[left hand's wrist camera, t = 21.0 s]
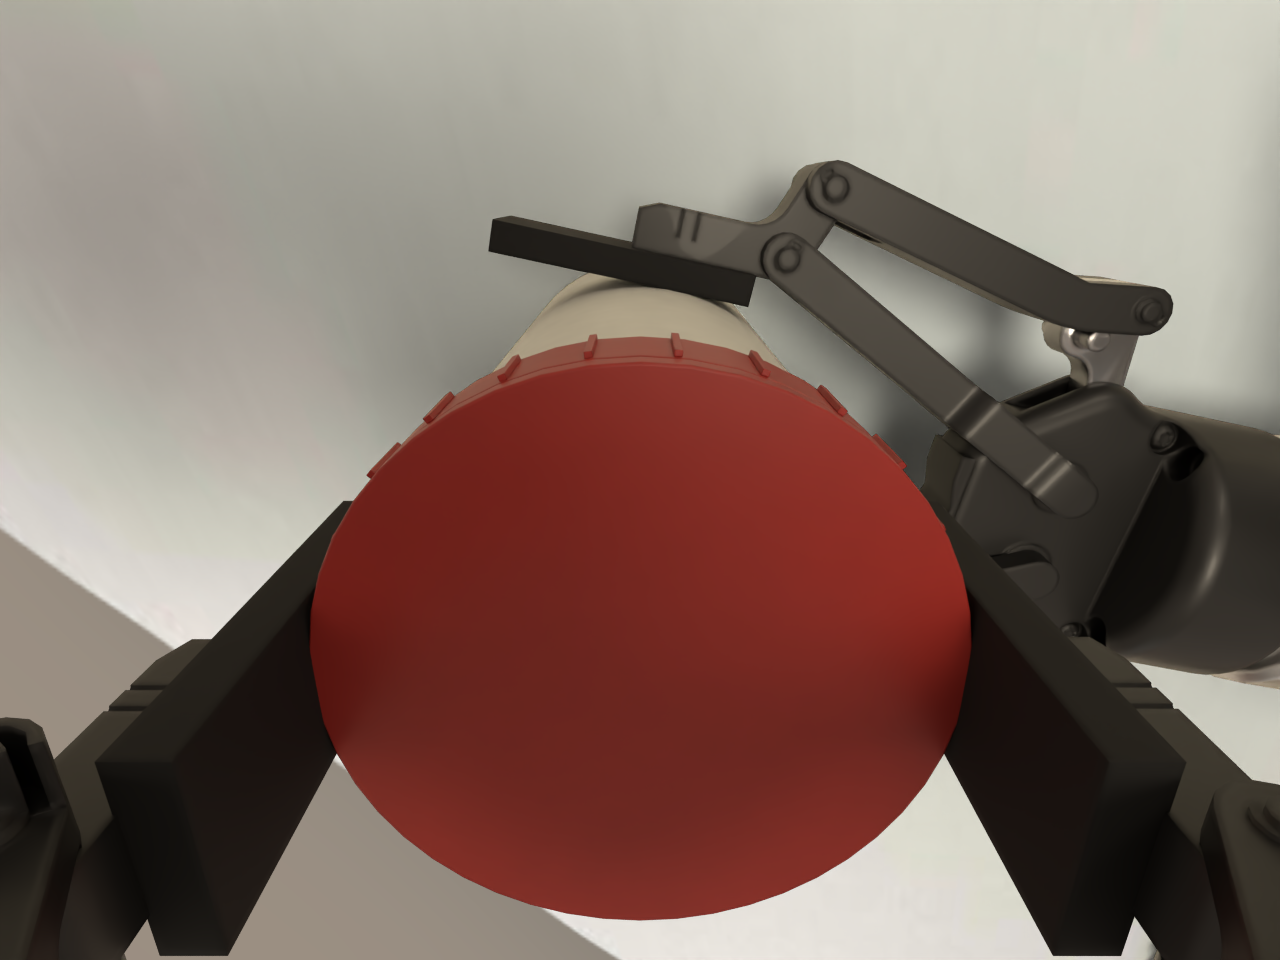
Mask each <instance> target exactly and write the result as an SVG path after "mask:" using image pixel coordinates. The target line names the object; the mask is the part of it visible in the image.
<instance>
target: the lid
mask: <svg viewBox="0 0 1280 960" xmlns="http://www.w3.org/2000/svg"><path fill="white" fill-rule="evenodd" d="M423 420H424V421H425V422H423V423H422V424H421V425H420V426H419V427H418V428H417V429H416V430H415V431H414V432H413V433H412V434H411V435H410V436H409V437H408V438H407V439H406V441H405V442H404V443H403V444H402V445H401V444H400V443H398V442H397V443H396V444H395V445H394V446H393V447H392V448H391V449H390V450H389V451H388V452H387V454H386V455H385V456H384V457H383V458H382V459H381V460H380V461H379V462H378V463H377V464H376V465H375V466H374V467H373V468H372V469H371V470H370V471H369V473H368V474H367V476H368V477H369V478H370V481H369V482H368V483H367V484H366V486H365V487H364V488H363V489H362V491H361V492H360V493H359V494H358V496H357V497H356V498H355V499H354V501H353V502H352V504H351V506H350V507H349V509H348V511H347V513H346V514H345V516H344V518H343V520H342V521H341V523H340V525H339V527H338V528H337V530H336V532H335V533H334V534H333V536H332V538H331V542H330V545H329V548H328V550H327V553H326V555H325V558H324V561H323V563H322V566H321V569H320V571H319V574H318V579H317V583H316V588H315V593H314V598H313V603H312V608H311V617H310V640H309V648H310V654H311V659H312V665H313V671H314V676H315V681H316V686H317V691H318V697H319V702H320V707H321V712H322V717H323V721H324V725H325V727H326V730H327V732H328V734H329V737H330V739H331V741H332V743H333V746H334V748H335V750H336V753H337V755H338V756H339V758H340V759H341V761H342V763H343V764H344V766H345V768H346V769H347V771H348V773H349V774H350V776H351V777H352V779H353V781H354V782H355V784H356V785H357V786H358V788H359V789H360V790H361V791H362V793H363V794H364V795H365V796H366V798H367V799H368V800H369V801H370V803H371V804H372V805H373V806H374V808H375V809H376V810H377V811H378V812H379V813H380V814H381V815H382V816H383V817H384V818H385V819H386V820H387V821H388V822H389V823H390V824H391V825H392V826H393V827H394V828H395V829H396V830H397V831H398V832H399V833H400V834H401V835H402V836H403V837H405V838H406V839H407V840H409V841H410V842H411V843H413V844H414V845H415V846H416V847H418V848H419V849H420V850H422V851H423V852H424V853H426V854H427V855H428V856H430V857H431V858H432V859H434V860H435V861H437V862H439V863H441V864H442V865H444V866H445V867H447V868H449V869H450V870H452V871H454V872H455V873H457V874H459V875H460V876H462V877H464V878H466V879H468V880H470V881H472V882H475V883H477V884H479V885H481V886H483V887H485V888H487V889H490V890H492V891H494V892H496V893H499V894H502V895H504V896H507V897H510V898H513V899H516V900H519V901H522V902H524V903H528V904H530V905H534V906H538V907H542V908H546V909H550V910H555V911H559V912H563V913H567V914H574V915H581V916H588V917H595V918H602V919H621V920H660V919H679V918H686V917H693V916H700V915H707V914H714V913H718V912H722V911H726V910H731V909H735V908H739V907H743V906H747V905H751V904H754V903H756V902H759V901H762V900H765V899H768V898H771V897H774V896H777V895H780V894H782V893H785V892H787V891H789V890H791V889H794V888H796V887H798V886H800V885H802V884H804V883H807V882H809V881H811V880H813V879H815V878H817V877H819V876H821V875H822V874H824V873H826V872H827V871H829V870H831V869H832V868H834V867H836V866H837V865H839V864H841V863H842V862H844V861H846V860H847V859H849V858H850V857H851V856H853V855H854V854H855V853H857V852H858V851H859V850H861V849H862V848H863V847H865V846H866V845H867V844H868V843H870V842H871V841H872V840H874V839H875V838H876V837H877V836H879V835H880V834H881V833H882V832H883V831H884V830H885V829H886V828H887V827H888V826H889V825H890V824H891V823H892V822H893V821H894V820H895V819H896V818H897V817H898V816H899V815H900V814H901V813H902V812H903V811H904V810H905V809H906V808H907V806H908V805H909V804H910V803H911V801H912V800H913V799H914V798H915V796H916V795H917V794H918V793H919V792H920V790H921V789H922V788H923V787H924V785H925V784H926V782H927V781H928V779H929V777H930V776H931V774H932V773H933V771H934V769H935V768H936V766H937V764H938V763H939V761H940V760H941V758H942V756H943V755H944V753H945V750H946V748H947V746H948V743H949V741H950V739H951V737H952V734H953V732H954V730H955V727H956V725H957V721H958V716H959V712H960V707H961V702H962V697H963V691H964V686H965V681H966V676H967V671H968V665H969V659H970V654H971V647H972V641H971V617H970V608H969V603H968V598H967V593H966V588H965V583H964V579H963V574H962V571H961V569H960V566H959V563H958V561H957V558H956V556H955V553H954V550H953V548H952V545H951V542H950V540H949V537H948V535H947V534H946V532H945V531H946V529H945V526H944V524H943V523H942V522H941V521H940V520H939V519H938V518H937V516H936V514H935V513H934V511H933V509H932V507H931V506H930V504H929V502H928V501H927V500H926V498H925V497H924V496H923V495H922V493H921V492H920V491H919V490H918V488H917V487H916V486H915V485H914V483H913V482H912V481H911V479H910V478H909V477H908V476H907V474H906V473H905V472H904V471H903V469H904V468H905V467H907V465H906V464H905V463H904V462H903V460H902V459H901V458H900V457H899V456H898V455H897V454H896V453H895V452H894V451H893V450H892V449H891V448H890V447H889V446H888V445H887V444H886V443H885V442H884V441H883V440H882V439H881V438H880V437H879V436H878V435H877V434H875V435H874V436H871V435H870V434H869V433H868V432H867V431H866V430H865V429H864V428H863V427H862V426H861V425H860V424H859V423H857V422H856V421H855V420H854V419H853V418H852V417H851V416H850V415H849V414H848V413H847V410H846V409H845V408H844V407H843V406H842V405H841V403H840V402H839V401H838V400H837V399H836V398H835V397H834V396H833V395H832V394H831V393H830V392H829V391H828V390H827V389H826V388H825V387H824V386H822V385H820V386H819V387H818V389H816V388H814V387H813V386H811V385H810V384H808V383H807V382H805V381H804V380H802V379H800V378H798V377H796V376H794V375H792V374H790V373H788V372H786V371H784V370H782V369H780V368H778V367H776V366H774V365H772V364H770V363H768V362H766V361H764V360H763V359H762V358H761V357H760V355H759V354H758V352H756V351H753V350H750V352H749V355H746V354H743V353H740V352H737V351H735V350H732V349H729V348H725V347H720V346H715V345H710V344H705V343H700V342H695V341H690V340H686V339H680V336H679V333H671V338H658V337H643V336H638V337H623V338H607V339H598V337H597V334H593V335H589V338H588V341H586V342H581V343H575V344H570V345H565V346H560V347H555V348H552V349H549V350H546V351H544V352H541V353H538V354H535V355H532V356H529V357H526V358H523V359H521V358H520V356H519V354H517V355H515V356H512V357H511V359H510V360H509V361H508V363H507V364H506V365H505V367H503V368H501V369H499V370H497V371H495V372H493V373H491V374H489V375H487V376H485V377H483V378H481V379H479V380H477V381H476V382H474V383H473V384H471V385H470V386H468V387H467V388H465V389H464V390H463V391H461V392H460V393H458V394H457V395H455V396H454V395H453V394H452V393H451V392H449V393H448V394H446V395H445V396H444V397H443V398H442V399H441V400H440V401H439V402H438V403H437V404H436V405H435V407H434V408H433V409H432V410H431V411H430V412H429V413H428V414H427V415H426V416H425V417H424V418H423Z"/></svg>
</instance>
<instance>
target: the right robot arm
mask: <svg viewBox="0 0 1280 960" xmlns="http://www.w3.org/2000/svg"><path fill="white" fill-rule="evenodd" d="M834 225H835V226H837V227H839V228H841V229H843V230H845V231H847V232H849V233H851V234H853V235H855V236H857V237H860V238H862V239H864V240H866V241H868V242H870V243H872V244H874V245H876V246H878V247H880V248H882V249H884V250H887V251H889V252H891V253H893V254H895V255H897V256H899V257H901V258H903V259H905V260H907V261H909V262H911V263H914V264H916V265H918V266H920V267H922V268H924V269H926V270H928V271H930V272H932V273H934V274H936V275H938V276H941V277H943V278H945V279H947V280H949V281H951V282H953V283H955V284H957V285H959V286H961V287H963V288H965V289H968V290H970V291H972V292H974V293H976V294H978V295H980V296H982V297H984V298H986V299H988V300H990V301H992V302H995V303H997V304H999V305H1001V306H1003V307H1006V308H1008V309H1011V310H1013V311H1016V312H1018V313H1022V314H1025V315H1028V316H1031V317H1034V318H1037V319H1040V320H1043V321H1044V322H1043V323H1042V331H1043V336H1044V341H1045V342H1046V344H1047V346H1049V347H1050V348H1051V349H1053V350H1056V351H1058V352H1061V353H1063V354H1064V355H1066V356H1067V357H1068V359H1069V361H1070V364H1071V373H1070V375H1067V376H1064V377H1061V378H1059V379H1056V380H1054V381H1051V382H1049V383H1046V384H1044V385H1042V386H1039V387H1037V388H1034V389H1032V390H1029V391H1027V392H1024V393H1022V394H1019V395H1017V396H1014V397H1012V398H1009V399H1007V400H1004V401H1002V402H997V401H996V400H995V399H994V398H992V397H991V396H990V395H988V394H987V393H985V392H984V391H983V390H981V389H980V388H979V387H978V386H976V385H975V384H974V383H973V382H972V381H970V380H969V379H968V378H967V377H966V376H965V375H963V374H962V373H961V372H960V371H959V370H958V369H956V368H955V367H954V366H953V365H952V364H951V363H949V362H948V361H947V360H946V359H945V358H943V357H942V356H941V355H940V354H939V353H938V352H936V351H935V350H934V349H933V348H932V347H931V346H929V345H928V344H927V343H926V342H925V341H924V340H922V339H921V338H920V337H919V336H918V335H916V334H915V333H914V332H913V331H912V330H911V329H909V328H908V327H907V326H906V325H905V324H904V323H902V322H901V321H900V320H899V319H898V318H897V317H895V316H894V315H893V314H892V313H891V312H890V311H888V310H887V309H886V308H885V307H884V306H882V305H881V304H880V303H879V302H878V301H877V300H875V299H874V298H873V297H872V296H871V295H870V294H868V293H867V292H866V291H865V290H864V289H863V288H861V287H860V286H859V285H858V284H857V283H856V282H854V281H853V280H852V279H851V278H850V277H848V276H847V275H846V274H845V273H844V272H843V271H841V270H840V269H839V268H838V267H837V266H836V265H834V264H833V263H832V262H831V261H830V260H829V259H827V258H826V257H825V256H824V255H823V254H821V253H820V252H819V251H818V250H817V249H818V248H819V246H820V245H821V243H822V242H823V240H824V239H825V237H826V236H827V234H828V233H829V232H830V230H831V229H832V227H833V226H834ZM489 252H494V253H499V254H503V255H508V256H513V257H517V258H522V259H526V260H531V261H536V262H540V263H545V264H550V265H554V266H559V267H564V268H568V269H573V270H578V271H582V272H587V273H592V274H596V275H601V276H606V277H610V278H615V279H620V280H624V281H629V282H634V283H638V284H643V285H648V286H652V287H657V288H662V289H666V290H671V291H676V292H680V293H685V294H690V295H694V296H699V297H704V298H708V299H713V300H718V301H722V302H727V303H732V304H736V305H741V306H746V307H748V306H749V302H750V298H751V294H752V290H753V286H754V282H755V278H756V277H761V278H765V279H769V280H771V281H772V282H773V283H774V284H775V285H777V286H778V287H779V288H780V289H781V290H783V291H784V292H785V293H786V294H788V295H789V296H790V297H791V298H792V299H794V300H795V301H796V302H797V303H798V304H800V305H801V306H802V307H803V308H804V309H806V310H807V311H808V312H809V313H811V314H812V315H813V316H814V317H815V318H817V319H818V320H819V321H820V322H821V323H823V324H824V325H825V326H826V327H828V328H829V329H830V330H831V331H832V332H834V333H835V334H836V335H837V336H838V337H840V338H841V339H842V340H843V341H845V342H846V343H847V344H848V345H849V346H851V347H852V348H853V349H854V350H855V351H857V352H858V353H859V354H860V355H861V356H863V357H864V358H865V359H866V360H868V361H869V362H870V363H871V364H872V365H874V366H875V367H876V368H877V369H878V370H880V371H881V372H882V373H883V374H885V375H886V376H887V377H888V378H889V379H891V380H892V381H893V382H894V383H895V384H897V385H898V386H899V387H900V388H901V389H903V390H904V391H905V392H906V393H908V394H909V395H910V396H911V397H912V398H914V399H915V400H916V401H917V402H918V403H919V404H920V405H922V406H923V407H924V408H925V409H926V410H928V411H929V412H930V413H931V414H933V415H934V416H935V417H936V418H937V419H939V420H940V421H941V422H942V423H943V424H945V425H946V426H947V427H948V428H949V429H948V431H947V432H946V433H945V434H944V436H942V435H937V434H936V435H935V438H934V440H933V443H932V446H931V449H930V451H929V454H928V457H927V465H926V476H925V483H924V485H923V486H922V488H921V489H920V492H921V493H922V495H923V496H924V497H925V498H926V500H927V501H938V502H939V503H940V504H941V505H942V506H943V508H944V509H945V510H946V511H947V512H948V513H949V514H950V515H951V516H952V517H953V518H954V519H955V520H956V521H957V522H958V523H959V524H960V525H961V526H962V527H963V528H964V529H965V531H966V532H967V533H968V534H969V535H970V536H971V537H972V538H973V539H974V540H975V541H976V542H977V543H978V544H979V545H980V546H981V547H982V548H983V549H984V550H985V551H986V553H987V554H988V555H989V556H990V557H991V558H992V559H993V560H994V561H995V562H996V563H997V564H998V565H999V566H1000V567H1001V568H1002V569H1003V570H1004V571H1005V572H1006V573H1007V575H1008V576H1009V577H1010V578H1011V579H1012V580H1013V581H1014V582H1015V583H1016V584H1017V585H1018V586H1019V587H1020V588H1021V589H1022V590H1023V591H1024V592H1025V593H1026V594H1027V595H1028V596H1029V598H1030V599H1031V600H1032V601H1033V602H1034V603H1035V604H1036V605H1037V606H1038V607H1039V608H1040V609H1041V610H1042V611H1043V612H1044V613H1045V614H1046V615H1047V616H1048V617H1049V618H1050V620H1051V621H1052V622H1053V623H1054V624H1055V625H1056V626H1057V627H1058V628H1059V629H1060V630H1061V631H1062V632H1063V633H1064V634H1065V635H1066V636H1067V637H1090V638H1092V639H1094V640H1095V641H1097V642H1099V643H1101V644H1102V645H1104V646H1106V647H1107V648H1109V649H1111V650H1113V651H1114V652H1116V653H1118V654H1119V655H1121V656H1123V657H1125V658H1126V659H1127V660H1128V661H1129V662H1135V663H1140V664H1145V665H1151V666H1156V667H1162V668H1167V669H1173V670H1178V671H1183V672H1189V673H1195V674H1204V675H1209V674H1210V675H1212V676H1214V677H1218V678H1223V679H1227V680H1232V681H1236V682H1241V683H1245V684H1251V685H1257V686H1263V687H1269V688H1275V689H1280V435H1272V434H1270V433H1268V432H1265V431H1262V430H1258V429H1255V428H1251V427H1246V426H1242V425H1237V424H1232V423H1227V422H1223V421H1218V420H1213V419H1209V418H1204V417H1199V416H1194V415H1190V414H1185V413H1180V412H1175V411H1171V410H1166V409H1161V408H1157V407H1152V406H1147V405H1143V404H1142V403H1141V402H1140V401H1139V400H1138V399H1137V398H1136V397H1135V395H1134V394H1133V393H1132V392H1131V391H1129V390H1128V389H1126V388H1125V387H1123V385H1124V382H1125V379H1126V376H1127V372H1128V369H1129V366H1130V363H1131V359H1132V356H1133V353H1134V350H1135V346H1136V343H1137V340H1138V337H1139V336H1142V335H1150V334H1152V333H1154V332H1156V331H1158V330H1160V329H1161V328H1162V327H1163V326H1164V325H1165V324H1166V323H1167V322H1168V320H1169V318H1170V316H1171V314H1172V310H1173V302H1172V298H1171V295H1170V294H1168V293H1167V292H1166V291H1165V290H1164V289H1160V288H1157V287H1152V286H1147V285H1141V284H1136V283H1131V282H1125V281H1120V280H1115V279H1109V278H1104V277H1096V276H1080V275H1073V274H1071V273H1069V272H1067V271H1065V270H1063V269H1061V268H1059V267H1057V266H1055V265H1053V264H1051V263H1049V262H1047V261H1045V260H1043V259H1041V258H1039V257H1037V256H1035V255H1033V254H1031V253H1029V252H1027V251H1025V250H1023V249H1021V248H1019V247H1017V246H1015V245H1013V244H1011V243H1009V242H1007V241H1005V240H1003V239H1001V238H999V237H996V236H994V235H992V234H990V233H988V232H986V231H984V230H982V229H980V228H978V227H976V226H974V225H972V224H970V223H968V222H966V221H964V220H962V219H960V218H958V217H956V216H954V215H952V214H950V213H948V212H946V211H944V210H942V209H940V208H938V207H936V206H934V205H932V204H930V203H928V202H926V201H924V200H922V199H920V198H918V197H916V196H914V195H912V194H910V193H908V192H906V191H904V190H902V189H900V188H898V187H896V186H894V185H892V184H890V183H888V182H886V181H884V180H882V179H880V178H878V177H876V176H874V175H872V174H870V173H868V172H866V171H864V170H862V169H860V168H858V167H856V166H854V165H852V164H850V163H848V162H844V161H839V160H836V161H827V162H821V163H815V164H811V165H806V166H805V167H803V168H802V169H800V170H799V171H798V172H797V174H796V175H795V176H794V178H793V181H792V184H791V187H790V189H789V191H788V192H787V194H786V195H785V197H784V198H783V200H782V201H781V203H780V205H779V206H778V208H777V209H776V210H775V211H774V212H773V214H771V215H770V216H769V217H767V218H766V219H763V220H761V221H758V222H744V221H739V220H735V219H730V218H726V217H721V216H717V215H712V214H708V213H703V212H699V211H694V210H690V209H686V208H681V207H677V206H672V205H668V204H663V203H655V204H650V205H644V206H639V210H638V215H637V220H636V226H635V231H634V236H633V241H632V242H629V241H625V240H620V239H615V238H611V237H606V236H602V235H597V234H593V233H588V232H583V231H579V230H574V229H570V228H565V227H560V226H556V225H551V224H547V223H542V222H538V221H533V220H528V219H524V218H519V217H515V216H507V217H502V218H496V219H493V220H492V228H491V235H490V243H489Z"/></svg>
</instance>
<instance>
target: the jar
mask: <svg viewBox="0 0 1280 960" xmlns="http://www.w3.org/2000/svg"><path fill="white" fill-rule="evenodd" d="M671 333H679V336H680V339H686V340H690V341H695V342H700V343H705V344H710V345H715V346H720V347H725V348H729V349H732V350H735V351H737V352H740V353H743V354H746V355H749V352H750V350H753V351H756V352H758V354H759V355H760V357H761V358H762V359H763V360H764V361H766V362H768V363H770V364H772V365H774V366H776V367H778V368H780V369H782V370H784V371H786V372H788V371H787V370H786V369H785V368H784V366H783V365H782V364H781V363H780V362H779V360H778V359H777V358H776V357H775V355H774V354H773V353H772V352H771V351H770V349H769V348H768V347H767V346H766V344H765V343H764V342H763V341H762V339H761V338H760V337H759V336H758V335H757V333H756V332H755V331H754V330H753V328H752V327H751V326H750V325H749V324H748V322H747V321H746V320H745V319H744V317H743V316H742V315H741V314H740V313H739V311H738V310H737V309H736V308H735V306H734V305H733V304H732V303H727V302H722V301H718V300H713V299H708V298H704V297H699V296H694V295H690V294H685V293H680V292H676V291H671V290H666V289H662V288H657V287H652V286H648V285H643V284H638V283H634V282H629V281H624V280H620V279H615V278H610V277H606V276H601V275H596V274H592V273H588V274H586V275H584V276H581V277H580V278H578V279H577V280H575V281H574V282H572V283H571V284H569V285H568V286H566V287H565V288H564V289H563V290H562V291H560V292H559V293H558V294H557V295H556V296H555V297H554V298H553V299H552V300H551V301H550V302H549V304H548V305H547V306H546V307H545V308H544V309H543V311H542V312H541V313H540V314H539V316H538V317H537V318H536V319H535V320H534V322H533V323H532V324H531V325H530V327H529V328H528V329H527V330H526V332H525V333H524V334H523V335H522V336H521V338H520V339H519V340H518V341H517V343H516V344H515V345H514V346H513V348H512V349H511V350H510V351H509V352H508V354H507V355H506V356H505V357H504V359H503V360H502V361H501V362H500V364H499V365H498V366H497V367H496V368H495V370H494V371H493V372H495V371H497V370H499V369H501V368H503V367H505V365H506V364H507V363H508V361H509V360H510V359H511V357H512V356H515V355H517V354H519V356H520V358H521V359H523V358H526V357H529V356H532V355H535V354H538V353H541V352H544V351H546V350H549V349H552V348H555V347H560V346H565V345H570V344H575V343H581V342H586V341H588V338H589V335H593V334H597V337H598V339H607V338H623V337H638V336H643V337H658V338H671ZM493 372H492V373H493Z"/></svg>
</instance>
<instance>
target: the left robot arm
mask: <svg viewBox="0 0 1280 960" xmlns="http://www.w3.org/2000/svg"><path fill="white" fill-rule="evenodd" d="M352 502H353V501H343V502H342V503H341V504H340V505H339V506H338V507H337V508H336V509H335V510H334V512H333V513H332V514H331V515H330V516H329V517H328V518H327V519H326V520H325V521H324V522H323V523H322V524H321V525H320V526H319V527H318V528H317V529H316V530H315V531H314V532H313V534H312V535H311V536H310V537H309V538H308V539H307V540H306V541H305V542H304V543H303V544H302V545H301V546H300V547H299V548H298V549H297V550H296V551H295V552H294V553H293V554H292V556H291V557H290V558H289V559H288V560H287V561H286V562H285V563H284V564H283V565H282V566H281V567H280V568H279V569H278V570H277V571H276V572H275V573H274V574H273V575H272V576H271V578H270V579H269V580H268V581H267V582H266V583H265V584H264V585H263V586H262V587H261V588H260V589H259V590H258V591H257V592H256V593H255V594H254V595H253V596H252V597H251V598H250V600H249V601H248V602H247V603H246V604H245V605H244V606H243V607H242V608H241V609H240V610H239V611H238V612H237V613H236V614H235V615H234V616H233V617H232V618H231V619H230V620H229V621H228V623H227V624H226V625H225V626H224V627H223V628H222V629H221V630H220V631H219V632H218V633H217V634H216V635H215V636H214V637H213V638H212V639H192V640H190V641H188V642H187V643H185V644H183V645H182V646H180V647H178V648H177V649H175V650H173V651H171V652H170V653H168V654H166V655H165V656H163V657H161V658H159V659H158V660H156V661H155V662H154V663H153V664H152V665H151V666H150V667H149V668H148V669H147V670H146V671H145V672H144V673H143V674H142V675H141V676H140V677H139V678H138V679H137V680H135V681H134V682H133V683H132V684H131V688H130V690H125V691H124V692H123V693H122V694H121V695H120V696H119V697H118V698H117V699H116V700H115V701H114V702H113V703H112V704H111V705H110V706H109V711H104V712H103V713H102V714H100V715H99V716H98V717H97V718H96V719H95V720H94V721H93V722H92V723H91V724H90V725H89V726H88V727H87V728H86V729H85V730H84V731H83V732H82V733H81V734H80V735H79V736H78V737H77V738H76V739H75V740H74V741H73V742H72V743H71V744H70V745H69V746H68V747H67V748H65V749H64V750H63V751H62V752H61V753H60V754H59V755H58V756H57V757H56V758H55V759H53V756H52V753H51V751H50V748H49V745H48V742H47V740H46V737H45V734H44V731H43V728H42V727H41V726H39V725H37V724H36V723H34V722H33V721H31V720H30V719H19V718H8V717H6V718H0V960H126V957H125V954H124V953H125V951H126V950H127V948H128V947H129V945H130V944H131V942H132V941H133V939H134V938H135V936H136V935H137V933H138V932H139V930H140V929H141V927H142V926H143V925H144V923H145V922H146V920H147V919H148V922H149V925H150V928H151V931H152V934H153V937H154V940H155V943H156V946H157V949H158V952H159V955H160V956H228V954H229V953H230V951H231V949H232V947H233V945H234V943H235V941H236V940H237V938H238V936H239V934H240V932H241V930H242V928H243V927H244V925H245V923H246V921H247V919H248V917H249V915H250V914H251V912H252V910H253V908H254V906H255V904H256V902H257V901H258V899H259V897H260V895H261V893H262V891H263V889H264V888H265V886H266V884H267V882H268V880H269V878H270V876H271V875H272V873H273V871H274V869H275V867H276V865H277V863H278V862H279V860H280V858H281V856H282V854H283V852H284V850H285V849H286V847H287V845H288V843H289V841H290V839H291V837H292V836H293V834H294V832H295V830H296V828H297V826H298V824H299V823H300V821H301V819H302V817H303V815H304V813H305V811H306V810H307V808H308V806H309V804H310V802H311V800H312V798H313V797H314V795H315V793H316V791H317V789H318V787H319V785H320V784H321V782H322V780H323V778H324V776H325V774H326V772H327V770H328V769H329V767H330V765H331V763H332V761H333V759H334V758H335V756H336V754H337V753H336V750H335V748H334V746H333V743H332V741H331V739H330V737H329V734H328V732H327V730H326V727H325V725H324V721H323V717H322V712H321V707H320V702H319V697H318V691H317V686H316V681H315V676H314V671H313V665H312V659H311V654H310V648H309V640H310V617H311V608H312V603H313V598H314V593H315V588H316V583H317V579H318V574H319V571H320V569H321V566H322V563H323V561H324V558H325V555H326V553H327V550H328V548H329V545H330V542H331V538H332V536H333V534H334V533H335V532H336V530H337V528H338V527H339V525H340V523H341V521H342V520H343V518H344V516H345V514H346V513H347V511H348V509H349V507H350V506H351V504H352ZM928 502H929V504H930V506H931V507H932V509H933V511H934V513H935V514H936V516H937V518H938V519H939V520H940V521H941V522H942V523H943V524H944V526H945V529H946V531H945V532H946V534H947V535H948V537H949V540H950V542H951V545H952V548H953V550H954V553H955V556H956V558H957V561H958V563H959V566H960V569H961V571H962V574H963V579H964V583H965V588H966V593H967V598H968V603H969V608H970V617H971V641H972V647H971V654H970V659H969V665H968V671H967V676H966V681H965V686H964V691H963V697H962V702H961V707H960V712H959V716H958V721H957V725H956V727H955V730H954V732H953V734H952V737H951V739H950V741H949V743H948V746H947V748H946V750H945V753H944V754H945V756H946V758H947V760H948V762H949V764H950V765H951V767H952V769H953V771H954V773H955V775H956V777H957V778H958V780H959V782H960V784H961V786H962V788H963V790H964V791H965V793H966V795H967V797H968V799H969V801H970V803H971V804H972V806H973V808H974V810H975V812H976V814H977V816H978V817H979V819H980V821H981V823H982V825H983V827H984V829H985V830H986V832H987V834H988V836H989V838H990V840H991V842H992V843H993V845H994V847H995V849H996V851H997V853H998V855H999V856H1000V858H1001V860H1002V862H1003V864H1004V866H1005V868H1006V869H1007V871H1008V873H1009V875H1010V877H1011V879H1012V881H1013V882H1014V884H1015V886H1016V888H1017V890H1018V892H1019V894H1020V895H1021V897H1022V899H1023V901H1024V903H1025V905H1026V907H1027V908H1028V910H1029V912H1030V914H1031V916H1032V918H1033V920H1034V921H1035V923H1036V925H1037V927H1038V929H1039V931H1040V933H1041V934H1042V936H1043V938H1044V940H1045V942H1046V944H1047V946H1048V947H1049V949H1050V951H1051V953H1052V955H1053V956H1121V955H1122V952H1123V949H1124V946H1125V943H1126V940H1127V937H1128V934H1129V931H1130V928H1131V925H1132V922H1133V919H1134V916H1135V918H1136V919H1137V921H1138V922H1139V924H1140V925H1141V927H1142V928H1143V930H1144V931H1145V933H1146V934H1147V935H1148V937H1149V938H1150V940H1151V941H1152V943H1153V944H1154V946H1155V947H1156V949H1157V952H1156V954H1155V957H1154V960H1280V785H1278V784H1272V783H1266V782H1261V781H1255V780H1252V779H1251V778H1249V777H1248V776H1247V775H1246V774H1245V773H1244V772H1243V771H1242V770H1241V769H1240V768H1239V767H1238V766H1237V765H1236V764H1235V763H1234V762H1233V761H1232V760H1231V759H1230V758H1229V757H1228V756H1227V755H1226V754H1225V753H1224V752H1223V751H1221V750H1220V749H1219V748H1218V747H1217V746H1216V745H1215V744H1214V743H1213V742H1212V741H1211V740H1210V739H1209V738H1208V737H1207V736H1206V735H1205V734H1204V733H1203V732H1202V731H1201V730H1200V729H1199V728H1198V727H1197V726H1196V725H1195V724H1193V723H1192V722H1191V721H1190V720H1189V719H1188V718H1187V717H1186V716H1185V715H1184V714H1183V713H1182V712H1181V711H1180V710H1179V709H1174V708H1173V703H1172V702H1171V701H1170V700H1169V699H1168V698H1167V697H1165V696H1164V695H1163V694H1162V693H1161V692H1160V691H1159V690H1158V689H1157V688H1152V686H1151V682H1150V681H1149V680H1148V679H1147V678H1146V677H1145V676H1144V675H1143V674H1142V673H1141V672H1140V671H1139V670H1137V669H1136V668H1135V667H1134V666H1133V665H1132V664H1131V663H1130V662H1129V661H1128V660H1127V659H1126V658H1125V657H1123V656H1121V655H1119V654H1118V653H1116V652H1114V651H1113V650H1111V649H1109V648H1107V647H1106V646H1104V645H1102V644H1101V643H1099V642H1097V641H1095V640H1094V639H1092V638H1090V637H1067V636H1066V635H1065V634H1064V633H1063V632H1062V631H1061V630H1060V629H1059V628H1058V627H1057V626H1056V625H1055V624H1054V623H1053V622H1052V621H1051V620H1050V618H1049V617H1048V616H1047V615H1046V614H1045V613H1044V612H1043V611H1042V610H1041V609H1040V608H1039V607H1038V606H1037V605H1036V604H1035V603H1034V602H1033V601H1032V600H1031V599H1030V598H1029V596H1028V595H1027V594H1026V593H1025V592H1024V591H1023V590H1022V589H1021V588H1020V587H1019V586H1018V585H1017V584H1016V583H1015V582H1014V581H1013V580H1012V579H1011V578H1010V577H1009V576H1008V575H1007V573H1006V572H1005V571H1004V570H1003V569H1002V568H1001V567H1000V566H999V565H998V564H997V563H996V562H995V561H994V560H993V559H992V558H991V557H990V556H989V555H988V554H987V553H986V551H985V550H984V549H983V548H982V547H981V546H980V545H979V544H978V543H977V542H976V541H975V540H974V539H973V538H972V537H971V536H970V535H969V534H968V533H967V532H966V531H965V529H964V528H963V527H962V526H961V525H960V524H959V523H958V522H957V521H956V520H955V519H954V518H953V517H952V516H951V515H950V514H949V513H948V512H947V511H946V510H945V509H944V508H943V506H942V505H941V504H940V503H939V502H938V501H928Z"/></svg>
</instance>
